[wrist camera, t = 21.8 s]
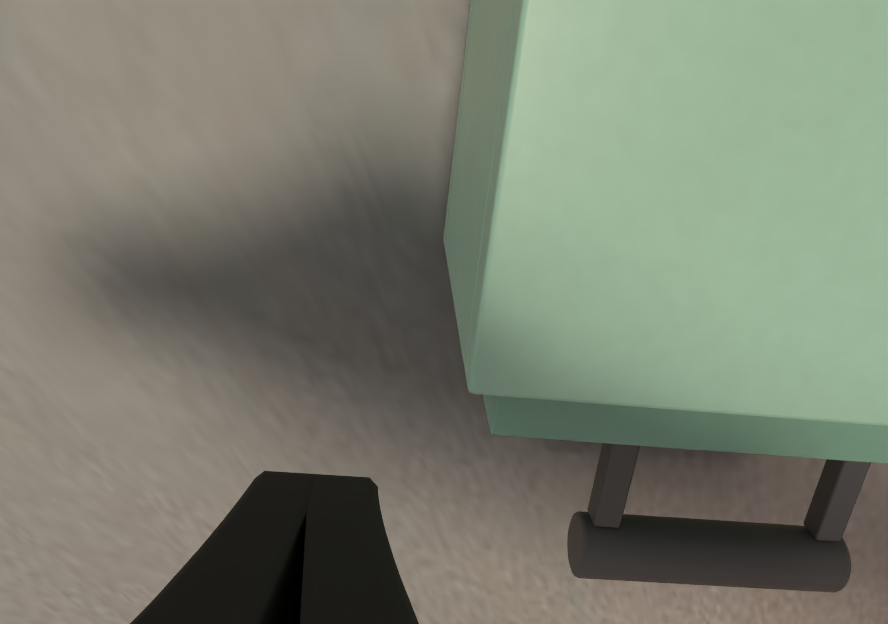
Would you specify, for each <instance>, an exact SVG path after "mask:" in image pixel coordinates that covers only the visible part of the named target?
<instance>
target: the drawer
mask: <svg viewBox="0 0 888 624" xmlns="http://www.w3.org/2000/svg"><path fill="white" fill-rule="evenodd" d="M483 400H484V405H485V410H486V415H487V420H488V425H489V430H490V434H492V435H499V436H513V437H526V438H540V439H554V440H568V441H581V442H595V443H603V444H602V449H601V453H600V457H599V462H598V466H597V471H596V475H595V480H594V484H593V488H592V493H591V497H590V502H589V506H588V512H580V511H579V512H576V513H574V515H573V516H572V519H571V522H570V525H569V530H568V558H569V564H570V567H571V570H572V573H573V574H574V576H576V577H578V578H587V579H605V580H623V581H640V582H658V583H676V584H694V585H711V586H729V587H747V588H765V589H783V590H800V591H818V592H837V591H840V590H842V589H843V588H844V587H845V586H846V584H847V582H848V580H849V577H850V571H851V561H850V555H849V551H848V548H847V545H846V543H845V541H844V540H843V538H842V536H843V533H844V531H845V528H846V525H847V523H848V520H849V518H850V515H851V513H852V510H853V508H854V505H855V502H856V500H857V497H858V495H859V492H860V490H861V487H862V485H863V482H864V479H865V477H866V474H867V472H868V469H869V467H870V464H871V463H884V464H888V426H880V425H867V424H854V423H841V422H828V421H815V420H802V419H789V418H776V417H763V416H750V415H738V414H725V413H712V412H699V411H686V410H673V409H660V408H647V407H634V406H621V405H608V404H595V403H583V402H570V401H557V400H544V399H531V398H518V397H505V396H492V395H483ZM640 446H650V447H664V448H678V449H691V450H705V451H719V452H733V453H746V454H760V455H774V456H788V457H801V458H815V459H827V460H826V463H825V465H824V468H823V471H822V474H821V476H820V479H819V482H818V485H817V487H816V490H815V493H814V496H813V498H812V501H811V504H810V507H809V509H808V512H807V515H806V518H805V520H804V525H805V526H797V525H782V524H766V523H751V522H735V521H720V520H704V519H689V518H673V517H657V516H642V515H626V514H623V512H624V508H625V504H626V500H627V496H628V492H629V488H630V484H631V480H632V475H633V471H634V467H635V463H636V459H637V455H638V451H639V447H640Z"/></svg>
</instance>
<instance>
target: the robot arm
mask: <svg viewBox="0 0 888 624" xmlns="http://www.w3.org/2000/svg"><path fill="white" fill-rule="evenodd" d="M130 624H419V623H418V621H417V618H416V616H415V613H414V610H413V608H412V605H411V603H410V600H409V598H408V595H407V593H406V590H405V588H404V585H403V583H402V580H401V577H400V575H399V572H398V569H397V566H396V563H395V560H394V557H393V554H392V551H391V548H390V544H389V541H388V538H387V535H386V531H385V527H384V523H383V519H382V515H381V510H380V505H379V498H378V487H377V485H376V484H375V483H374V482H373V481H372V480H371V479H370V478H368V477H352V476H336V475H320V474H304V473H288V472H272V471H264V472H263V473H261V474H260V475H259V476H258V477H256V478H255V479H254V480H253V482H252V483H251V484H250V486H249V487H248V489H247V490H246V491H245V493H244V494H243V495H242V497H241V498H240V499H239V501H238V502H237V503H236V505H235V506H234V507H233V508H232V510H231V511H230V512H229V513H228V515H227V516H226V517H225V518H224V520H223V521H222V522H221V523H220V525H219V526H218V527H217V528H216V529H215V531H214V532H213V533H212V534H211V535H210V537H209V538H208V539H207V540H206V541H205V543H204V544H203V545H202V546H201V547H200V549H199V550H198V551H197V552H196V553H195V554H194V555H193V556H192V557H191V559H190V560H189V561H188V562H187V563H186V564H185V565H184V566H183V568H182V569H181V570H180V571H179V572H178V573H177V574H176V575H175V576H174V578H173V579H172V580H171V581H170V582H169V583H168V584H167V585H166V587H165V588H164V589H163V590H162V591H161V592H160V593H159V594H158V595H157V596H156V598H155V599H154V600H153V601H152V602H151V603H150V604H149V605H148V606H147V607H146V608H145V609H144V610H143V611H142V612H141V613H140V614H139V615H138V616H137V617H136V618H135V619H134V620H133V621H132V622H131V623H130Z"/></svg>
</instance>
